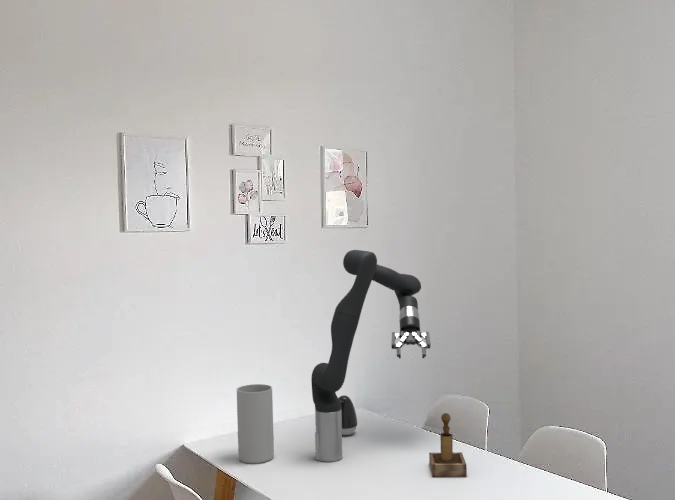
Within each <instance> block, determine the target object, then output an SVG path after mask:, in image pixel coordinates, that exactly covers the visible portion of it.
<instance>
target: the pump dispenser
mask: <svg viewBox="0 0 675 500" xmlns="http://www.w3.org/2000/svg"><path fill="white" fill-rule="evenodd" d="M338 398H339V400H340V401H341V415H342V435H343V436H342V437H344V436H345V435H348V436H350V435H352V434H354V433H355V431H356V430H357V427H358V417H357V413H356V409H355V406H354V402H353V401H352V399H351V398H350V397H349V396H348V395H345V394H344V395H340V396H338ZM345 437H346V436H345Z"/></svg>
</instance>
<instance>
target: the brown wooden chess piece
mask: <svg viewBox="0 0 675 500" xmlns="http://www.w3.org/2000/svg"><path fill="white" fill-rule="evenodd" d="M440 419H441V421H442V422H443V426H442V430H443V432H441V433H440V434H439V435H440V453H441V457H440V458H439V459H438V460H437V464H457V461H456V460H455V459H454V458H453V451H454V450H453V434H452V433H450V426H449V423H450V421H451V419H452V417H451V415H450V414H449V413H443V414H442V415H441V417H440Z"/></svg>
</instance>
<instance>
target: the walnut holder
mask: <svg viewBox="0 0 675 500" xmlns="http://www.w3.org/2000/svg"><path fill="white" fill-rule="evenodd" d="M428 457H429V461H428V463H429V468H430V472H431V473H430V474H431V478H467V476H468V474H467V472H468V471H467V463H466V459H465V457H464V455H463V452H459V451H458V452H453V458H454V459H455V460H456V461H457V464H437V460H438V459H439V458H440V457H441V452H429V453H428Z"/></svg>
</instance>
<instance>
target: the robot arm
mask: <svg viewBox="0 0 675 500" xmlns="http://www.w3.org/2000/svg"><path fill="white" fill-rule="evenodd" d="M342 265H343V268H344V270H345V271H346V272H347V273H348V274H350V275H353V276H355V279H354V282H353V285H352V287H351V288H350V289H349V291H348V292H347V294H345V296H344V297H343V298H342V299H340V301H339V303H338V304H337V305H336V307H335V310H334V313H333V317H332V320H331V323H330V336H331V338H330V339H331V352H330V356H329V360H328V362H320V363H318V364H316V366H314V368H313V370H312V373H311V394H312V401H313V405H314V415H315V417H314V418H315V432H314V438H315V439H314V445H315V446H314V447H315V449H314V450H315V461H319V462H325V463H327V462H329V463H330V462H337V461H338V462H339V461H340V460H342V459H343V436H342V415H341V401H340V400H339V396H338V395H337V394H336V392H338V391H339V390H341V388H342V387H343V385H344V382H345V381H346V375H347V370H348V365H349V359H350V355H351V351H352V347H353V343H354V338H355V335H356V332H357V328H358V325H359V323H360V318H361V315H362V310H363V307H364V303H365V300H366V297H367V294H368V291H369V288H370V287H371V283H372V281H373V282H374V283H375V282H376V283H377V284H380V285H381V286H383V287H385V288H388V289H389V290H392V291H394V293H395V296H396V299H397V302H398V305H399V315H398V316H399V320H398V322H399V333H396V332H395V331H393V332H391V349H392V350H394V349H395V350H396V357H397V358H398V359H401V358H402V357H401V355H402V354H401V348H403V347H404V346H405V345H407V346H410V345H413V346H415V345H417V346H418V347H420V348H421V355H422V359H425V358H426V357H427V349H431V343H432V342H431V337H430V336H431V335H430V332H429V331H426V332H421V324H420V323H421V322H420V313H419V303H418V299H417V298H416V297H415V296H414V295H416V294H418V293H419V292H420V291H421V289H422V285H421V284H422V283H421V281H420V280H419V279H418V278H417V277H416V276H414V275H411V274H406V273H400V272H397V270H395V269H392V268H389V267H386V266H383V265H380V264H378V258H377V255H376V254H375V253H374V252H373V251H368V250H359V249H351V250H349V251H347V252H346V254H345V255H344V257H343V261H342ZM398 338H399V339H400V340H399V341H398V343H396V341H397V339H398ZM422 338H423V339H424V340H425V342H426V343H425V342H424V341H423V340H422Z"/></svg>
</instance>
